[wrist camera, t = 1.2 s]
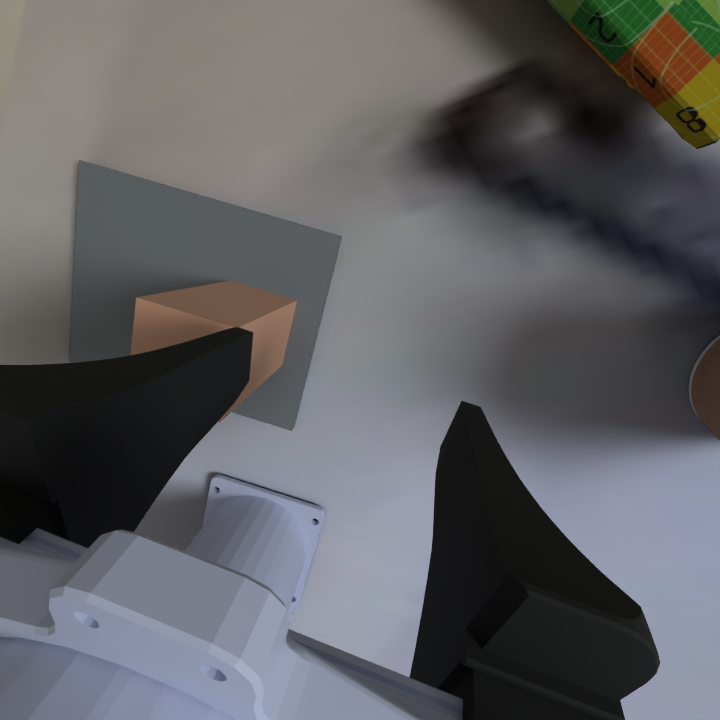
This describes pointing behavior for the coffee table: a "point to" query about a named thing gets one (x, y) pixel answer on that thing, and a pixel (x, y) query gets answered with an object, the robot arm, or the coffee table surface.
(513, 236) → the coffee table surface
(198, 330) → the tall block
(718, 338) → the coffee cup
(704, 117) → the puzzle game
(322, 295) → the mat
